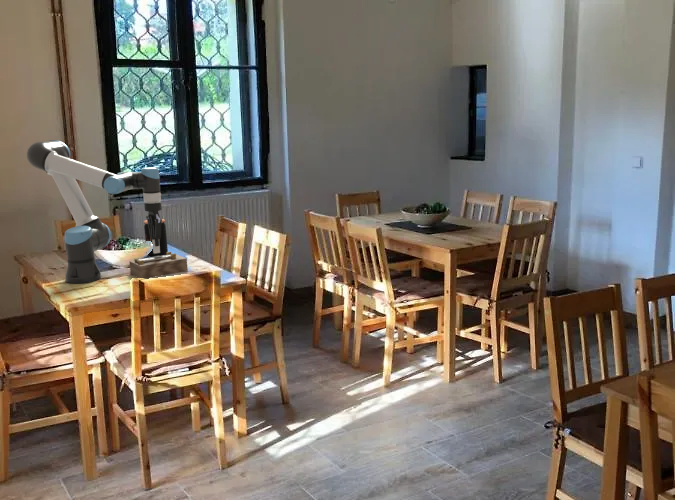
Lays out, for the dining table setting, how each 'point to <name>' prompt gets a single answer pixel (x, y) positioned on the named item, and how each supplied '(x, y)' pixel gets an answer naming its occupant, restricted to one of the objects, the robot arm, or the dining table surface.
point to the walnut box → (158, 266)
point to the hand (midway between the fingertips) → (156, 252)
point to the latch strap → (155, 258)
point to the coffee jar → (161, 241)
